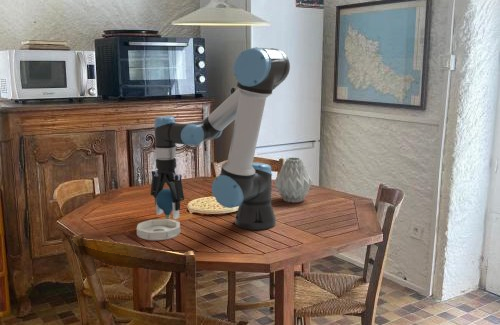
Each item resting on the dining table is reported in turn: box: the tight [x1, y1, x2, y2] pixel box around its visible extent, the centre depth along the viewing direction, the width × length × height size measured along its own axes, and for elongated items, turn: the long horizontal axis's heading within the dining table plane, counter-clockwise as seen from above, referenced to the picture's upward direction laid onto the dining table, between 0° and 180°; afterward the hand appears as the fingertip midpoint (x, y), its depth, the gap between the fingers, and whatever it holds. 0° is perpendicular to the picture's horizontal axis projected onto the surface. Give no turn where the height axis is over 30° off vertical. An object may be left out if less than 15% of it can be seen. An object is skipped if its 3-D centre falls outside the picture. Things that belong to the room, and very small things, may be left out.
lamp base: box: [136, 218, 181, 241], centre depth 179 cm, size 15×15×3 cm
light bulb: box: [156, 188, 177, 219], centre depth 194 cm, size 8×8×12 cm
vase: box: [274, 157, 313, 203], centre depth 220 cm, size 16×16×18 cm
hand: (167, 216), depth 195 cm, fingers closed on light bulb, 8 cm apart
